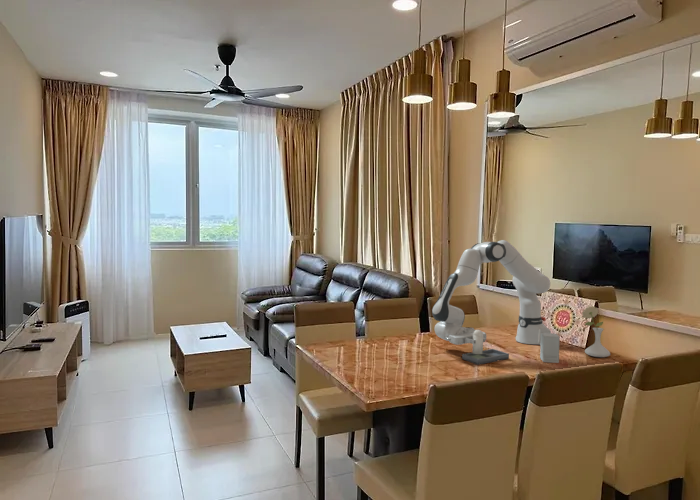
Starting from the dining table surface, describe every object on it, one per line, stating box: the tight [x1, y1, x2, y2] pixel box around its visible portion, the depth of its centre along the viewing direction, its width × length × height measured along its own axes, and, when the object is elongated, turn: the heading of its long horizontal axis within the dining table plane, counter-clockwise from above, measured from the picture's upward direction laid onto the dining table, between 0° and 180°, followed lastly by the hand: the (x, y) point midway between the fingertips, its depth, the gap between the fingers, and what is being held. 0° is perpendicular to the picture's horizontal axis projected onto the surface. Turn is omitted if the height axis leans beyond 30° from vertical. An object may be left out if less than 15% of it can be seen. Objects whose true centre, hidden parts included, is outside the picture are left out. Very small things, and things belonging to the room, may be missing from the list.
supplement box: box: [539, 332, 560, 364], centre depth 230 cm, size 7×7×13 cm
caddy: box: [461, 348, 510, 366], centre depth 233 cm, size 20×11×2 cm, turn 120°
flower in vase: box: [581, 305, 611, 358], centre depth 238 cm, size 13×11×25 cm
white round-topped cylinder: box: [472, 329, 484, 355], centre depth 230 cm, size 5×5×11 cm
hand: (479, 341), depth 229 cm, fingers closed on white round-topped cylinder, 5 cm apart
